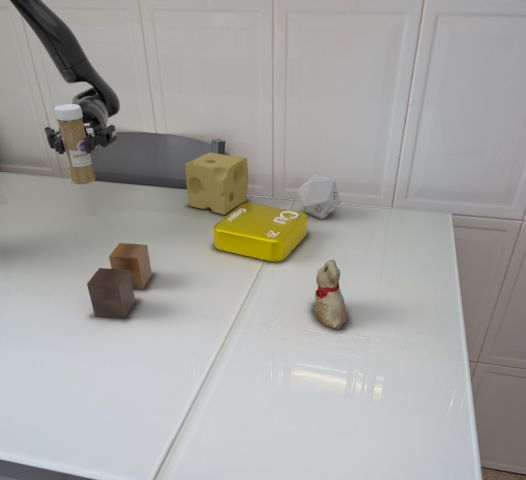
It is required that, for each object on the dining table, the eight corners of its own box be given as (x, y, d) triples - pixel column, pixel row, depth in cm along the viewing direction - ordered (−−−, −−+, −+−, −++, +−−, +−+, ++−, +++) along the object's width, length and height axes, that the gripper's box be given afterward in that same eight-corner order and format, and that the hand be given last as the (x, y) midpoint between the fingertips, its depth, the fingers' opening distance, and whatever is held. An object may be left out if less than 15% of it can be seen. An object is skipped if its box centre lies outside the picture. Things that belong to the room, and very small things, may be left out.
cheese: (225, 216, 110) (222, 170, 103) (185, 206, 114) (181, 162, 108) (249, 200, 117) (248, 157, 111) (211, 192, 121) (208, 149, 115)
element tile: (245, 220, 108) (244, 198, 105) (309, 232, 103) (310, 210, 100) (210, 248, 97) (209, 225, 94) (280, 264, 92) (281, 240, 89)
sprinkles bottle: (86, 186, 94) (69, 110, 86) (67, 183, 96) (48, 108, 87) (100, 178, 98) (85, 104, 89) (81, 175, 99) (64, 102, 91)
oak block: (115, 287, 86) (108, 256, 82) (125, 273, 90) (119, 242, 86) (143, 289, 85) (137, 258, 82) (152, 275, 89) (147, 244, 85)
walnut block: (94, 316, 79) (86, 283, 75) (106, 299, 83) (99, 267, 79) (125, 318, 78) (118, 286, 75) (135, 301, 82) (129, 269, 78)
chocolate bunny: (349, 303, 82) (356, 248, 76) (343, 330, 76) (350, 273, 70) (316, 299, 83) (320, 244, 77) (307, 325, 77) (311, 268, 71)
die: (302, 226, 107) (333, 193, 101) (283, 195, 109) (312, 160, 103) (325, 228, 113) (356, 197, 107) (306, 199, 116) (335, 166, 109)
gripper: (46, 104, 100) (26, 127, 87) (118, 102, 102) (109, 125, 89) (55, 143, 105) (38, 170, 92) (124, 140, 107) (117, 167, 93)
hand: (73, 148), depth 90 cm, fingers closed on sprinkles bottle, 4 cm apart
